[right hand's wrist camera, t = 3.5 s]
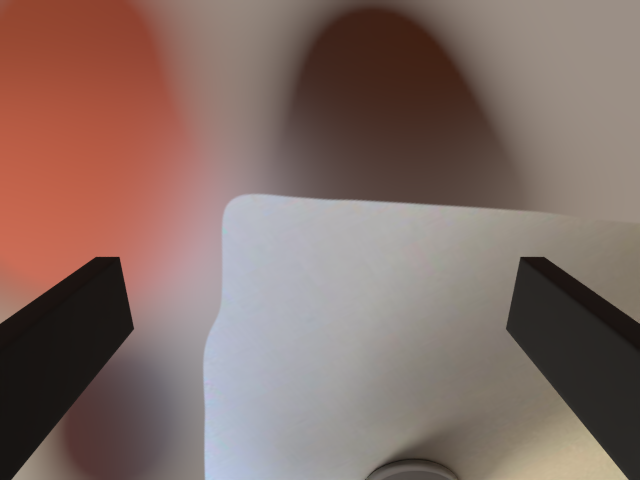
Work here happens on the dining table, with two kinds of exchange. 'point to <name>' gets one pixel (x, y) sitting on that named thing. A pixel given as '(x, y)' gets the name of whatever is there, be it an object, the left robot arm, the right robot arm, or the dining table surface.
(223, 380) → the dining table surface
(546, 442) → the dining table surface
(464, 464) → the dining table surface
